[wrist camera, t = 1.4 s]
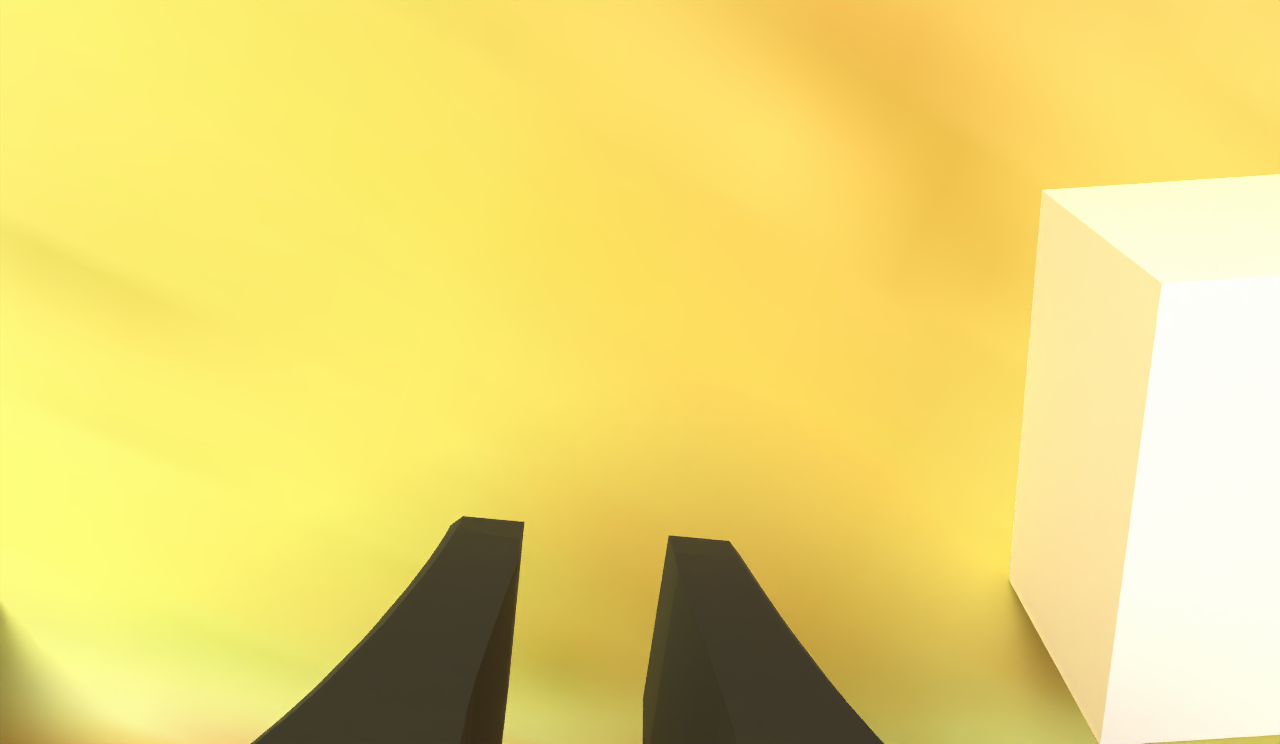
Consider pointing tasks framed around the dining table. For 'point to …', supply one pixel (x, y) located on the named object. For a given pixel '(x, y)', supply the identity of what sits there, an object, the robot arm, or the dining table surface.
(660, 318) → the dining table surface
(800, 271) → the dining table surface
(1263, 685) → the cream carton
